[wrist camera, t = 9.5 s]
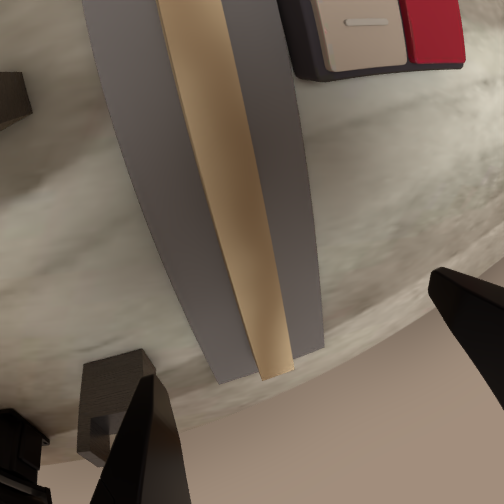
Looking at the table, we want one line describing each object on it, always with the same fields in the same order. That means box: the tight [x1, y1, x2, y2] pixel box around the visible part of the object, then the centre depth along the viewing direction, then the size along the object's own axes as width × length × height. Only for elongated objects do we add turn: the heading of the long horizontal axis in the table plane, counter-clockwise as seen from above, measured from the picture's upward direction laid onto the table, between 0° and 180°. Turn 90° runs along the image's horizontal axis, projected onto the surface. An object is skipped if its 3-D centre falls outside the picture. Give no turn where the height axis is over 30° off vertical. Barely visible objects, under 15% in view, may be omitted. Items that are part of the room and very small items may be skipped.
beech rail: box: [156, 0, 294, 381], centre depth 16 cm, size 2×24×2 cm, turn 12°
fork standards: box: [0, 72, 156, 467], centre depth 13 cm, size 5×21×8 cm, turn 12°
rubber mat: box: [82, 0, 324, 384], centre depth 17 cm, size 9×28×1 cm, turn 12°
